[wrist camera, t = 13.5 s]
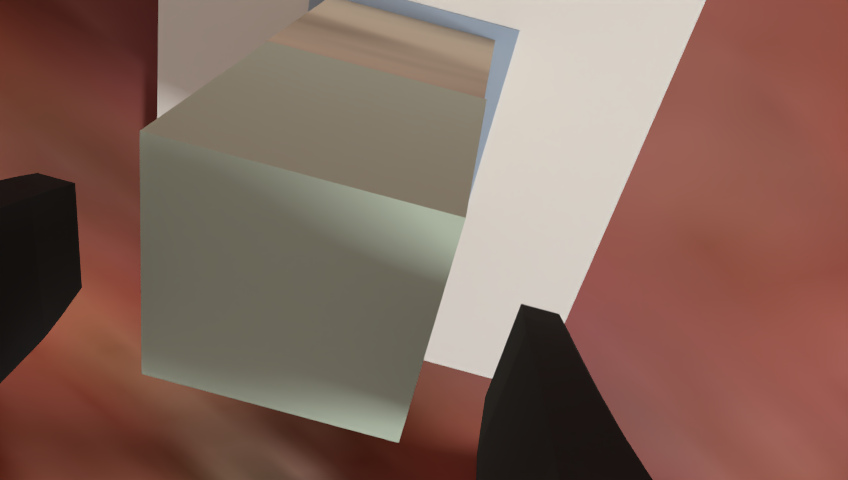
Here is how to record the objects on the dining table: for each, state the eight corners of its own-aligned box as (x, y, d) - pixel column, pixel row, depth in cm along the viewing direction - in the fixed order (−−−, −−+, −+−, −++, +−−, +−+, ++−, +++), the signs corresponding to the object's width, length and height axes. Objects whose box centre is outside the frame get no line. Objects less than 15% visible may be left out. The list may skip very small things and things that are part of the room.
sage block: (435, 279, 15) (398, 442, 11) (250, 230, 15) (141, 373, 11) (486, 99, 13) (466, 217, 9) (268, 40, 13) (140, 131, 9)
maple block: (453, 188, 20) (432, 280, 15) (308, 148, 20) (247, 229, 15) (495, 40, 17) (484, 100, 13) (330, -4, 17) (265, 41, 13)
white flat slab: (535, 375, 24) (535, 391, 23) (166, 275, 24) (154, 288, 23) (784, -206, 15) (797, -209, 14) (179, -366, 15) (160, -379, 14)
